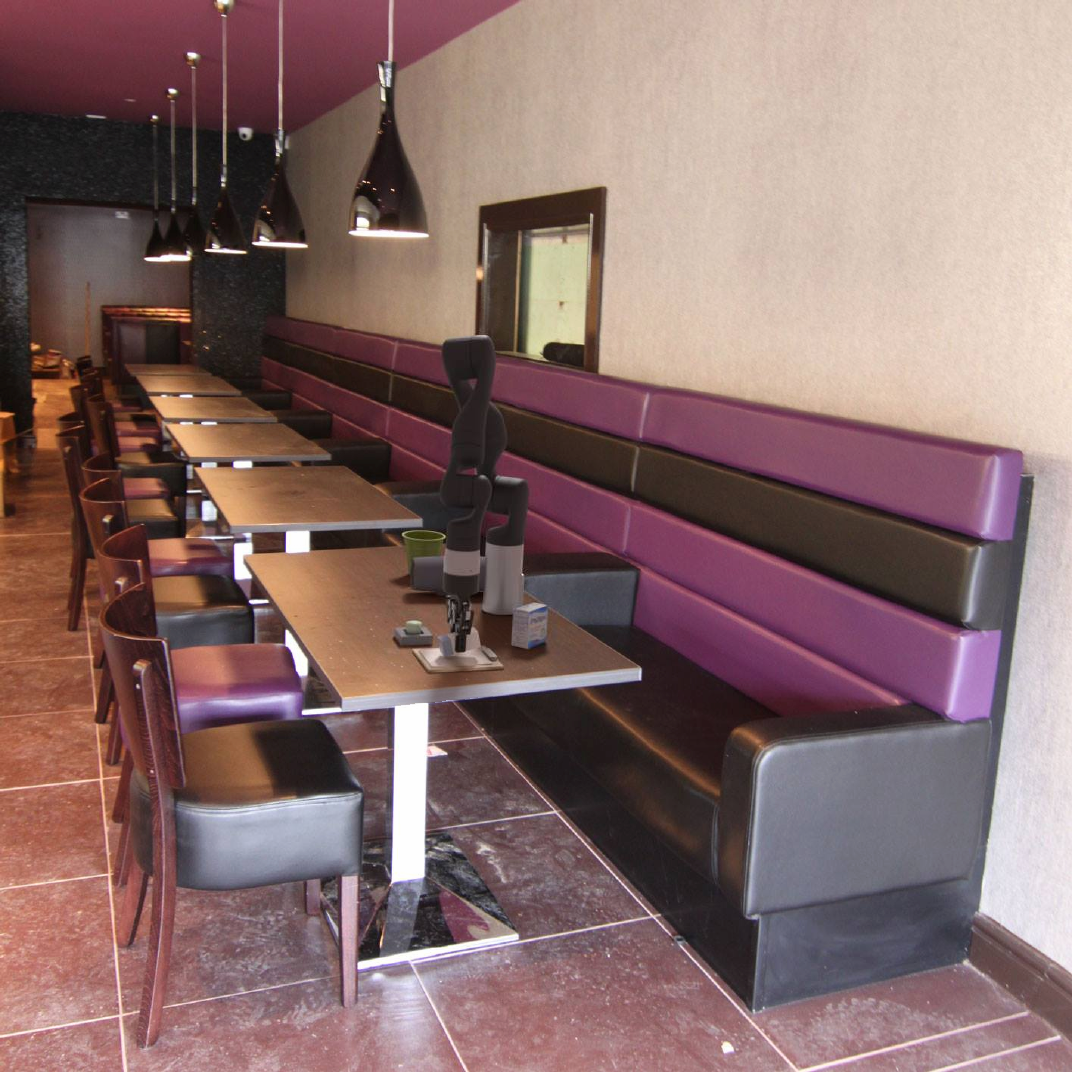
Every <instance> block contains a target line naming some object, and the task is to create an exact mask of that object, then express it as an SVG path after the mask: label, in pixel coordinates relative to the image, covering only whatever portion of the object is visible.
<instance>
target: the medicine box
mask: <svg viewBox="0 0 1072 1072" xmlns="http://www.w3.org/2000/svg"><path fill="white" fill-rule="evenodd" d="M548 608H549V606H548V605H547V604H542V603H538V602H530V603H528V604H523V606H521V607H518V608H516V609H513V614H512V628H511V629H512V630H511V631H512V632H511V646H513V647H517V648H521V649H524V650H531V649H532V648H535V647H537V646H539V645H542V644H543V643H545V642H547V629H548V628H547V627H548V614H549V613H548V612H549V611H548Z"/></svg>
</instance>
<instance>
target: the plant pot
mask: <svg viewBox="0 0 1072 1072" xmlns="http://www.w3.org/2000/svg"><path fill="white" fill-rule="evenodd" d="M401 536H402V537H403V540H404V545H405V551H406V552H405V553H406V561H407V571H408V575H409V576H410V569H411V563H412V558H418V557H436V556H440V553H441V548H442V546H443V543H444V540H446V535H445V534H443V533H442V532H437V531H431V530H409V531H404V532H402V533H401Z"/></svg>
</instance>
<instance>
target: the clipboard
mask: <svg viewBox="0 0 1072 1072" xmlns="http://www.w3.org/2000/svg"><path fill="white" fill-rule="evenodd" d="M412 653H413V654H414V655H415V657H416V658H417V659H418V661H419V662H420V663H421V665H422V666H423V668H424V669H425V670H426V672H427V673H428V674H431V673H432V674H435V673H451V672H454V673H455V672H469V671H470V672H474V671H490V670H491V671H492V670H493V671H494V670H504V668H505V667H504V664H502V663H501V662H500V661H499V659H498V656H497V655H496V654H495V653H494V651H492V650H491V648H489V647H486V645H481V647H479V648H476V649H472V650H469V651H465V652H463V653H458V654H454V655H451V656H447V657H444V656H443V655H442V653H441V652H440V648H439V647H431V648H429V647H428V648H427V647H426V648H412Z"/></svg>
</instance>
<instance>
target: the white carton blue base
mask: <svg viewBox="0 0 1072 1072" xmlns="http://www.w3.org/2000/svg"><path fill="white" fill-rule="evenodd" d="M455 635H456V634H455V632H453V633H446V634H442V635H439V636H437V642H438V648H440V652H441V653H442V655H443V656H444V657H447V656H451V655H454V654H458V653H457V652H456V651H455ZM481 646H482V645H481V640H480V636H479V631H478V630H477V629H476V627H474V626H472V628H471V633H470V635H467V636H466V651H469V650H472V649H476V648H479V647H481Z"/></svg>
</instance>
